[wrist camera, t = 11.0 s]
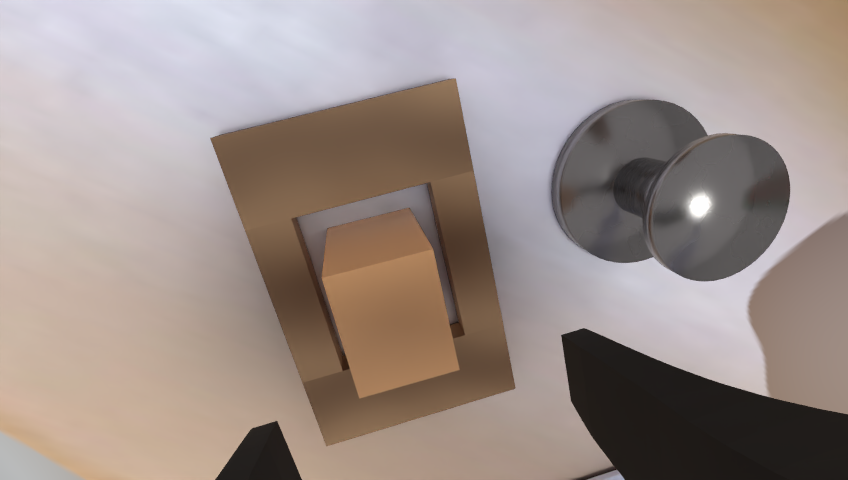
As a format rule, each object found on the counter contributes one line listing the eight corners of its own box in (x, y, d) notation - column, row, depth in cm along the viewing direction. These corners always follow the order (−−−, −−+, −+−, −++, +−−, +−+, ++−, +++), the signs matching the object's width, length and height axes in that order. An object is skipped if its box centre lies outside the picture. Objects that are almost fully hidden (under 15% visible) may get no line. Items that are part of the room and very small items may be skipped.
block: (430, 301, 21) (459, 369, 16) (355, 321, 21) (359, 398, 15) (409, 207, 19) (433, 249, 14) (327, 228, 19) (321, 278, 14)
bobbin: (699, 233, 22) (811, 277, 17) (562, 272, 22) (633, 330, 16) (695, 82, 20) (823, 78, 15) (541, 121, 19) (616, 132, 14)
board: (506, 373, 23) (515, 388, 22) (327, 428, 22) (326, 446, 21) (448, 79, 18) (455, 78, 17) (219, 135, 17) (210, 138, 16)
